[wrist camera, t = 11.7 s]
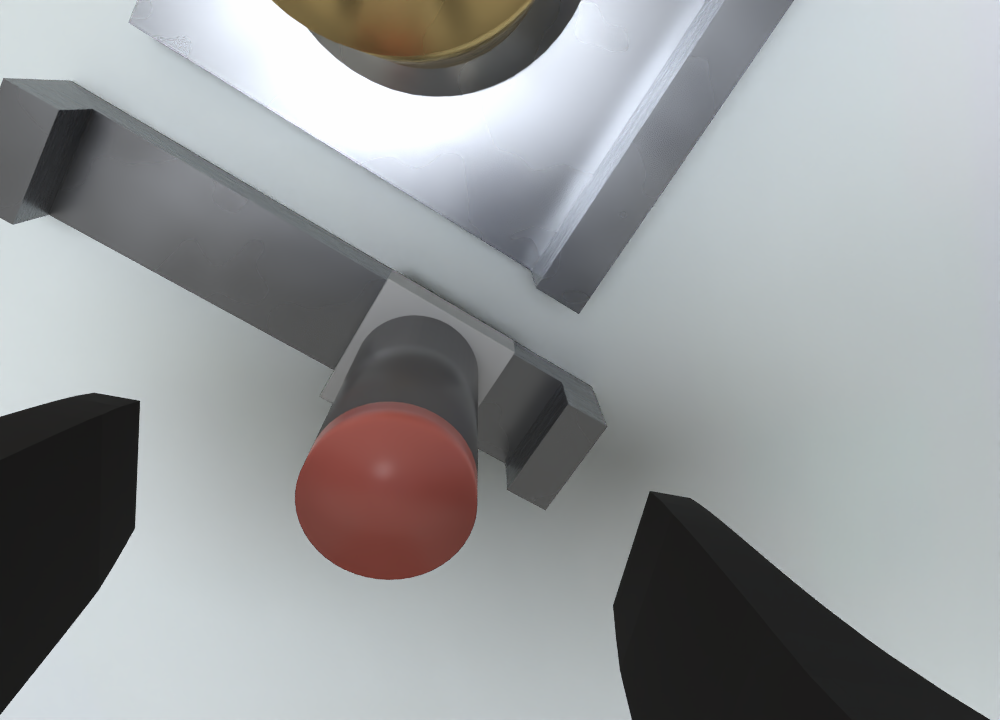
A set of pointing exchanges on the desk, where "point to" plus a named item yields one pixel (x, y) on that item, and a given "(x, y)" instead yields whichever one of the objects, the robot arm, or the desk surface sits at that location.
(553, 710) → the desk surface
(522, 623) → the desk surface
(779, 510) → the desk surface
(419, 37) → the cylinder
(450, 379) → the lever
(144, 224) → the rail
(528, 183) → the plate
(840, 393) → the desk surface
